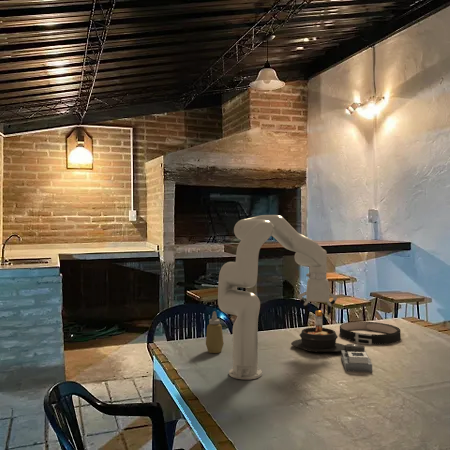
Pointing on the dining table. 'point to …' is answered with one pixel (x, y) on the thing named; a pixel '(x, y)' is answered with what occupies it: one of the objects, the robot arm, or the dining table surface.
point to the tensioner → (356, 358)
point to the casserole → (318, 341)
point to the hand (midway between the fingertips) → (317, 314)
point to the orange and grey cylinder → (319, 321)
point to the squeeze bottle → (214, 335)
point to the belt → (370, 338)
